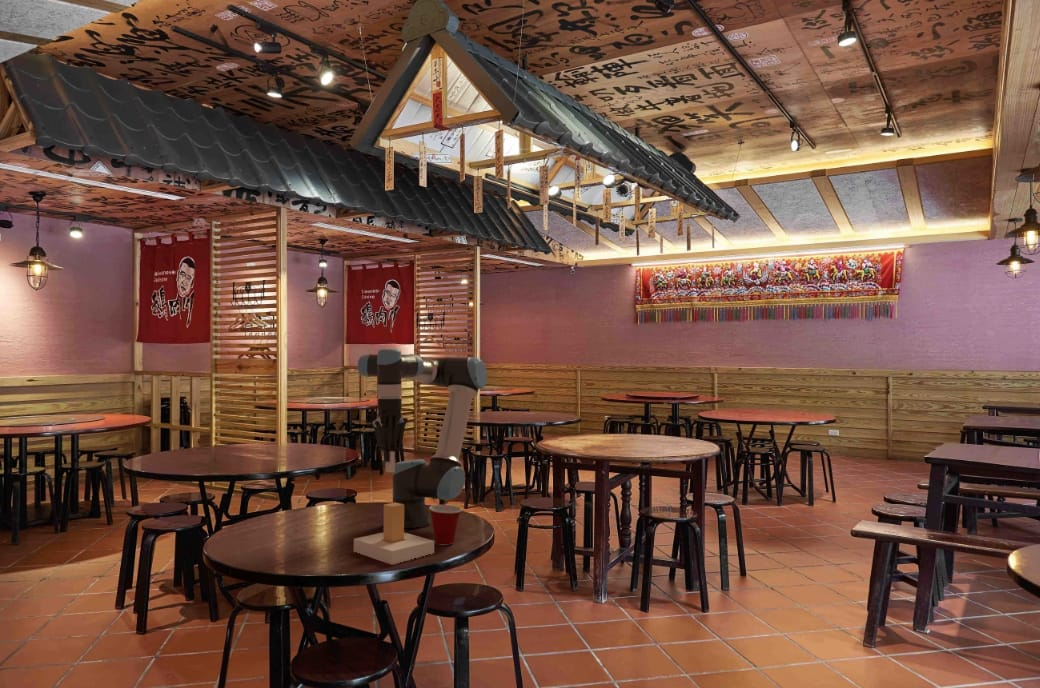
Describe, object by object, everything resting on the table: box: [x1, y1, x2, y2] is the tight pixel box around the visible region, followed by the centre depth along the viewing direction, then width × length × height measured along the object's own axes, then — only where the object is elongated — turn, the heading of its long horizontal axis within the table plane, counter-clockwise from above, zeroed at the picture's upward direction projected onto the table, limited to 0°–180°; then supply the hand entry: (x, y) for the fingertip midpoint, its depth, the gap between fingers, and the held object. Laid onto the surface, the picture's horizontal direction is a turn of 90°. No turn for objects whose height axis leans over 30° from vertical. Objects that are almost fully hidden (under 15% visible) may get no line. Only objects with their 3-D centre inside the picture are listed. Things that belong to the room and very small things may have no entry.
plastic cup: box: [428, 504, 463, 545], centre depth 232 cm, size 11×11×12 cm
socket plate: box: [353, 531, 435, 566], centre depth 222 cm, size 16×20×4 cm
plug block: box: [383, 502, 405, 543], centre depth 222 cm, size 4×4×15 cm
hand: (390, 471), depth 225 cm, fingers closed
